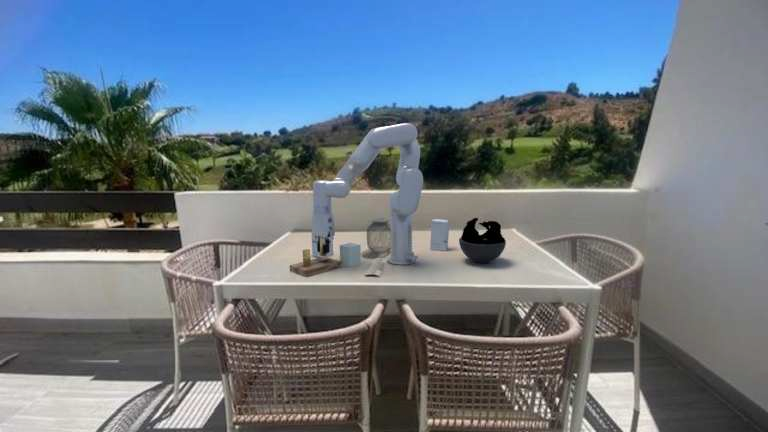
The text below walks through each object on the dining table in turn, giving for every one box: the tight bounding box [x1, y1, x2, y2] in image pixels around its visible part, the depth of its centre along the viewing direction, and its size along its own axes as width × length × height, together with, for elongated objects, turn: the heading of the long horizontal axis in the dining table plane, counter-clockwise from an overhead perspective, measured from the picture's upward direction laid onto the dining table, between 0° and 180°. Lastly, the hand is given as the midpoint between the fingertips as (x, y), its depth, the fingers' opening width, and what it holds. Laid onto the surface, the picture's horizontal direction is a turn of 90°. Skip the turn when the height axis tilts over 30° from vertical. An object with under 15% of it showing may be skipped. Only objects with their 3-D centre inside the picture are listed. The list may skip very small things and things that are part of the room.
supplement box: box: [311, 229, 334, 258], centre depth 183 cm, size 7×7×13 cm
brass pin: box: [320, 237, 327, 256], centre depth 165 cm, size 3×3×9 cm
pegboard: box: [289, 248, 343, 278], centre depth 163 cm, size 12×18×9 cm, turn 136°
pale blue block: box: [339, 242, 362, 268], centre depth 169 cm, size 6×6×9 cm
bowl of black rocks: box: [458, 217, 507, 264], centre depth 170 cm, size 20×20×19 cm
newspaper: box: [364, 257, 388, 278], centre depth 164 cm, size 24×7×2 cm, turn 172°
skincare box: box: [429, 218, 450, 252], centre depth 193 cm, size 8×6×15 cm
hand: (323, 251), depth 166 cm, fingers closed on brass pin, 3 cm apart
